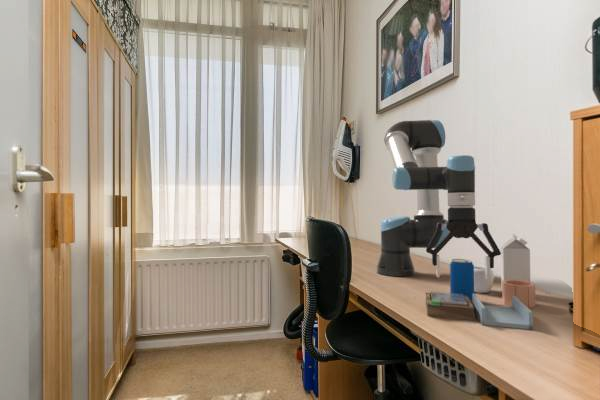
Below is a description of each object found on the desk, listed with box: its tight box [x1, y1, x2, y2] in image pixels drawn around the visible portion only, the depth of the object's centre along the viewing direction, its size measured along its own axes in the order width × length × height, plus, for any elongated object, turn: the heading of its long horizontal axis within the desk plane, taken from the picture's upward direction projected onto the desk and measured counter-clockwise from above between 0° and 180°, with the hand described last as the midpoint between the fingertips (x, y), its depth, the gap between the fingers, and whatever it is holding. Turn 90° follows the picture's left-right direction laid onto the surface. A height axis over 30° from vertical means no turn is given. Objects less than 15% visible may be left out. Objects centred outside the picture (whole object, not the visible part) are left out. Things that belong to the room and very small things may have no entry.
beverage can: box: [449, 258, 475, 303], centre depth 103 cm, size 6×6×12 cm
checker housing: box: [425, 292, 475, 321], centre depth 93 cm, size 12×11×4 cm
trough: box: [471, 292, 534, 331], centre depth 87 cm, size 14×11×4 cm
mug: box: [474, 265, 495, 294], centre depth 113 cm, size 12×8×8 cm
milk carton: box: [500, 233, 531, 291], centre depth 109 cm, size 7×7×19 cm
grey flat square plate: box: [430, 291, 467, 306], centre depth 93 cm, size 8×8×1 cm
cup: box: [501, 280, 536, 309], centre depth 99 cm, size 8×8×6 cm
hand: (462, 277), depth 102 cm, fingers open, 13 cm apart
